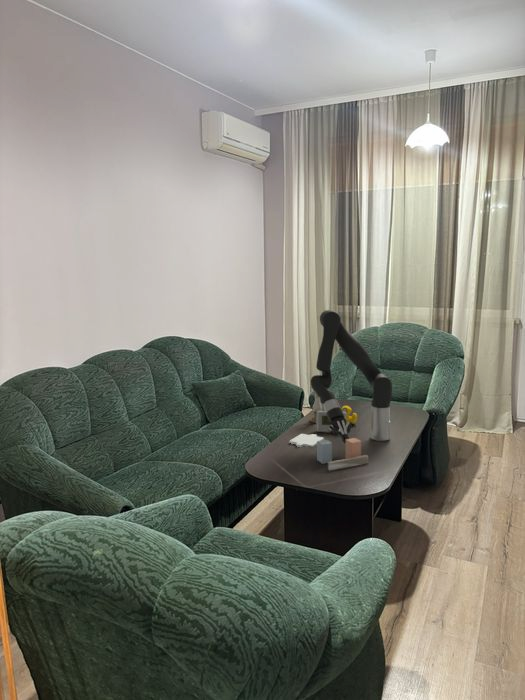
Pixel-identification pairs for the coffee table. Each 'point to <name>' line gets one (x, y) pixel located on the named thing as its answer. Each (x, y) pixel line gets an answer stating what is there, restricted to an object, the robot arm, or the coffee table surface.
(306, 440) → the mounting plate
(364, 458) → the wooden tray
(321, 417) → the digital clock
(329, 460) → the grey blue rectangular block
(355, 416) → the duckling
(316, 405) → the candle holder
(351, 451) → the reddish brown block
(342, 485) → the coffee table surface
